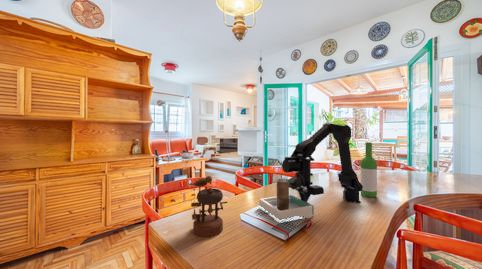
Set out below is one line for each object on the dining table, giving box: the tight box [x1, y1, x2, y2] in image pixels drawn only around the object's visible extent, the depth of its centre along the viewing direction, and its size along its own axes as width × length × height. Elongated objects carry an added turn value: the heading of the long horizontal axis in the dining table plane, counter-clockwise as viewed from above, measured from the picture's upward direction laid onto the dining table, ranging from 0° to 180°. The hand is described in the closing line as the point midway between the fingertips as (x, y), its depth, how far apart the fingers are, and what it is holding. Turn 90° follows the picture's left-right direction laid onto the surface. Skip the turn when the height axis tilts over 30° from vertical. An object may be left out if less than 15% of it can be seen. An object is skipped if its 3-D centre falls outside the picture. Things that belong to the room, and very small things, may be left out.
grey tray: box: [266, 194, 315, 216], centre depth 86 cm, size 16×15×4 cm
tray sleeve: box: [258, 195, 313, 220], centre depth 86 cm, size 16×17×4 cm
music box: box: [188, 175, 228, 239], centre depth 71 cm, size 15×11×20 cm
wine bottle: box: [360, 141, 378, 198], centre depth 109 cm, size 8×8×30 cm
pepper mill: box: [276, 177, 290, 211], centre depth 85 cm, size 5×5×14 cm
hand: (304, 204), depth 90 cm, fingers closed, pressing on grey tray
